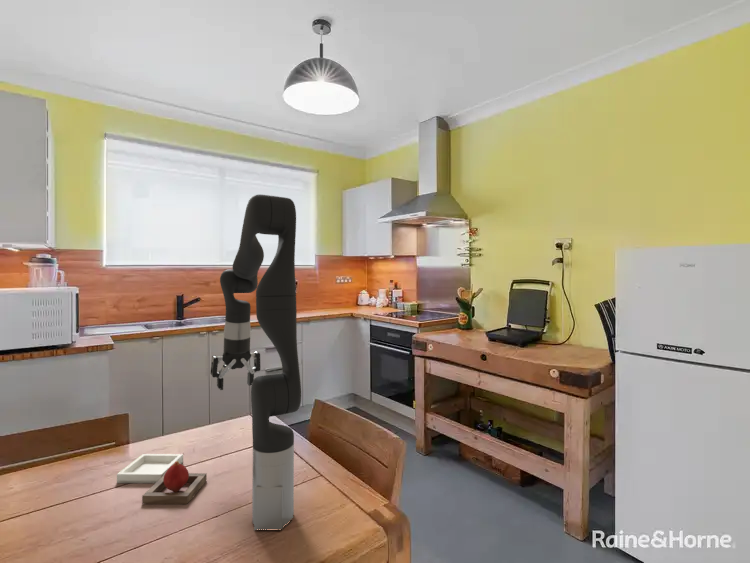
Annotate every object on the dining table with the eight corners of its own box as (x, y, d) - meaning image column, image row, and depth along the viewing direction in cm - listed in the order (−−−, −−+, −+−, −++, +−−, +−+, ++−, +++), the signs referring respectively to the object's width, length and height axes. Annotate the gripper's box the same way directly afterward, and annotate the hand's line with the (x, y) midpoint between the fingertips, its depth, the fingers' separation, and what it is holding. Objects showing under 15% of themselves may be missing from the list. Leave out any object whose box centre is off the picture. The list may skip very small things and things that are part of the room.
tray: (161, 483, 105) (161, 474, 105) (116, 483, 105) (116, 474, 105) (183, 462, 117) (183, 454, 117) (143, 461, 117) (143, 453, 117)
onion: (158, 494, 100) (158, 463, 100) (178, 483, 105) (179, 454, 105) (173, 500, 97) (173, 468, 97) (193, 489, 102) (193, 458, 102)
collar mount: (187, 504, 95) (187, 496, 95) (142, 503, 95) (142, 495, 95) (206, 480, 106) (206, 473, 106) (166, 480, 106) (166, 473, 106)
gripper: (215, 340, 110) (214, 395, 112) (264, 336, 118) (262, 387, 120) (209, 334, 116) (207, 386, 118) (256, 330, 125) (254, 379, 126)
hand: (235, 386), depth 119 cm, fingers open, 8 cm apart
